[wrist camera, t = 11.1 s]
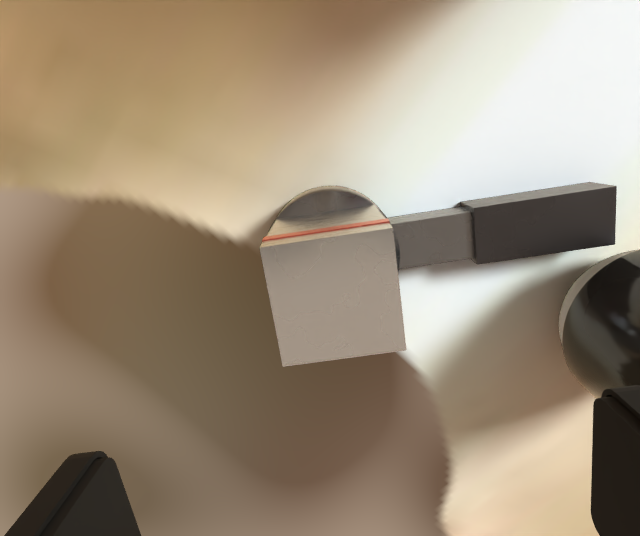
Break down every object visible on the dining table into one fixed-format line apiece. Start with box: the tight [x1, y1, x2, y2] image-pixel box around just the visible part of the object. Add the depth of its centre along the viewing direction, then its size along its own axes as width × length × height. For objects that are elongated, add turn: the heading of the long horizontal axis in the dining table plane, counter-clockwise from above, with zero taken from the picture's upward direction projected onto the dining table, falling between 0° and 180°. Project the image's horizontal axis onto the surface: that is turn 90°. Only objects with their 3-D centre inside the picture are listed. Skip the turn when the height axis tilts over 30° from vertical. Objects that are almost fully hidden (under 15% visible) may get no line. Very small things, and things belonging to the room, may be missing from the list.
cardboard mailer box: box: [259, 204, 406, 367], centre depth 22 cm, size 6×6×7 cm
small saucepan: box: [268, 182, 616, 271], centre depth 25 cm, size 20×8×7 cm, turn 99°
